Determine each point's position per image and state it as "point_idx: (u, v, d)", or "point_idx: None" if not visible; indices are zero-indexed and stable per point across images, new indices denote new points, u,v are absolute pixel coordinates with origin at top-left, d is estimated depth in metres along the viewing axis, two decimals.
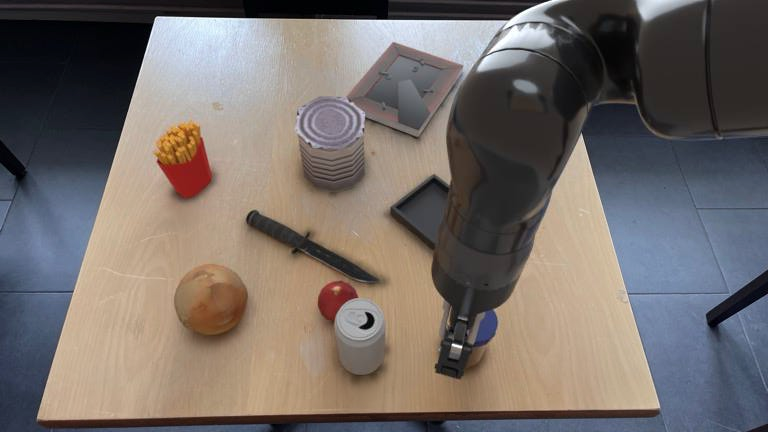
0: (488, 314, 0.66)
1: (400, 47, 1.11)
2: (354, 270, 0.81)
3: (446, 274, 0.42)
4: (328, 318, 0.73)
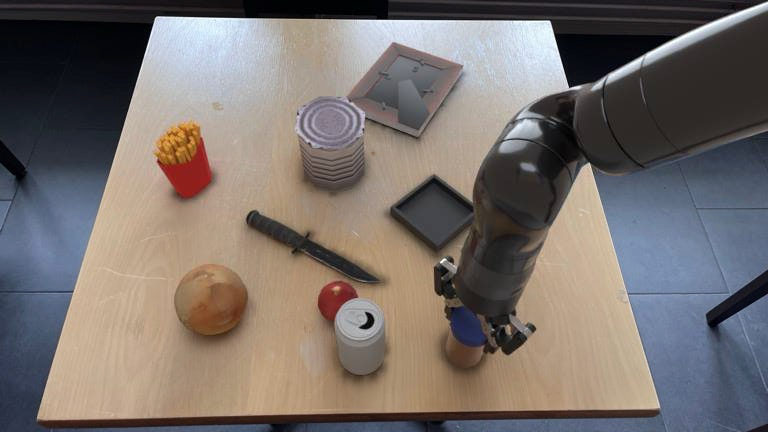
0: None
1: (400, 47, 1.11)
2: (354, 270, 0.81)
3: (502, 300, 0.54)
4: (328, 318, 0.73)
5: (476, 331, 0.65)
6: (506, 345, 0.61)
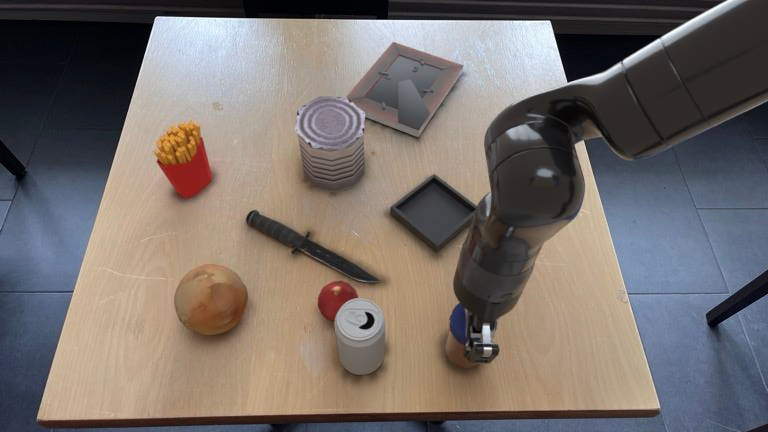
0: (459, 314, 0.66)
1: (400, 47, 1.11)
2: (354, 270, 0.81)
3: None
4: (328, 318, 0.73)
5: None
6: None
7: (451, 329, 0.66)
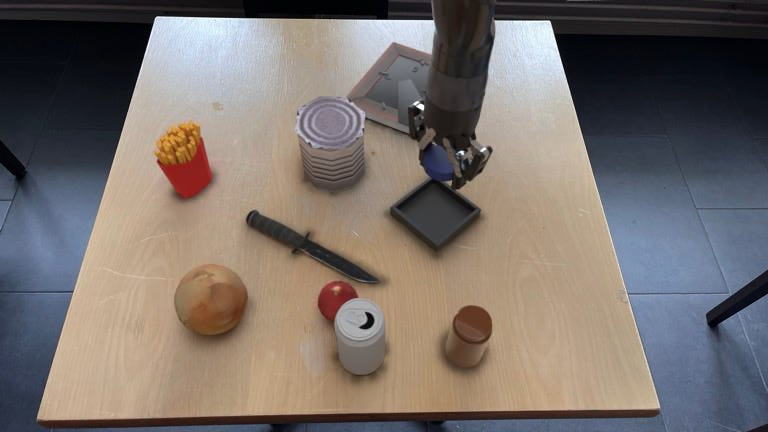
0: (432, 161, 0.76)
1: (400, 47, 1.11)
2: (354, 270, 0.81)
3: None
4: (328, 318, 0.73)
5: (443, 150, 0.78)
6: (425, 121, 0.77)
7: (435, 176, 0.76)
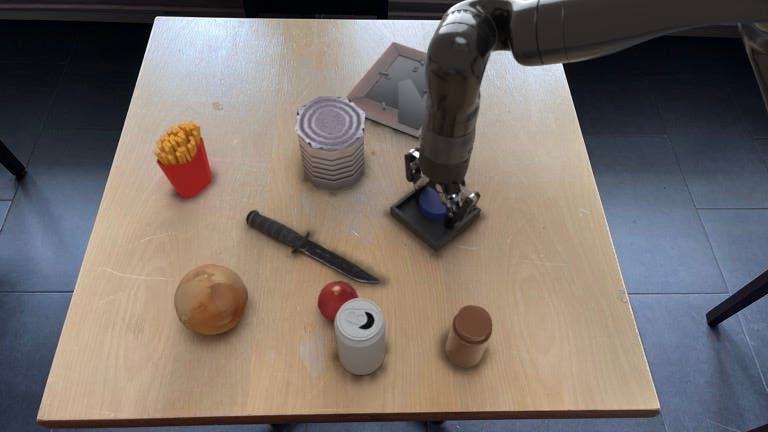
0: (426, 202, 0.84)
1: (400, 47, 1.11)
2: (354, 270, 0.81)
3: None
4: (328, 318, 0.73)
5: None
6: None
7: (429, 215, 0.84)
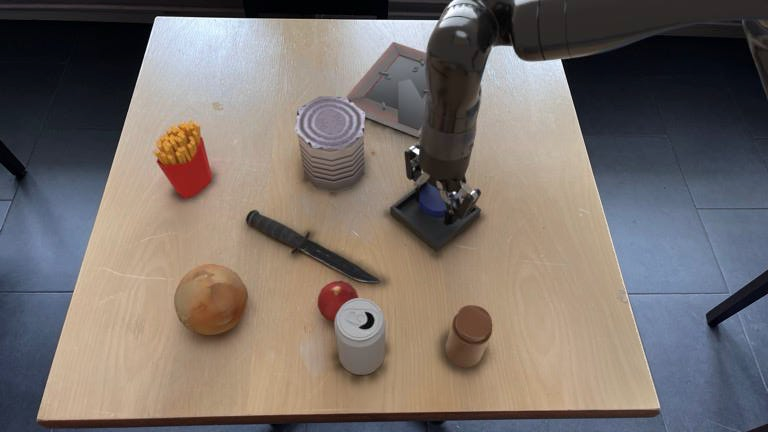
0: (426, 200, 0.83)
1: (400, 47, 1.11)
2: (354, 270, 0.81)
3: None
4: (328, 318, 0.73)
5: None
6: None
7: (430, 213, 0.83)
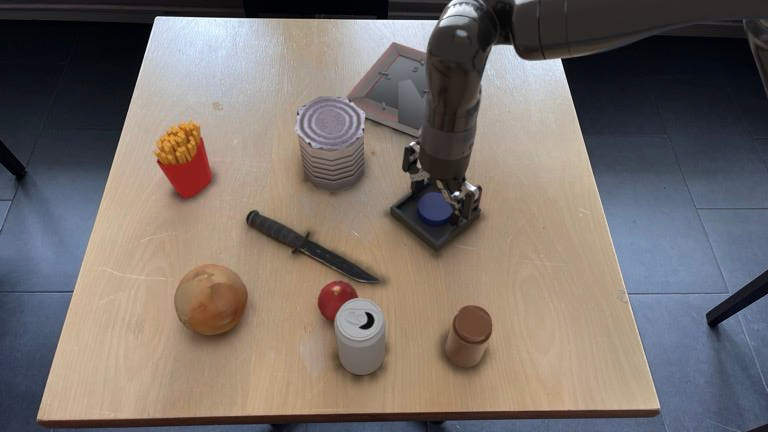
0: (424, 209, 0.86)
1: (400, 47, 1.11)
2: (354, 270, 0.81)
3: None
4: (328, 318, 0.73)
5: (434, 198, 0.87)
6: (417, 157, 0.84)
7: (428, 222, 0.85)
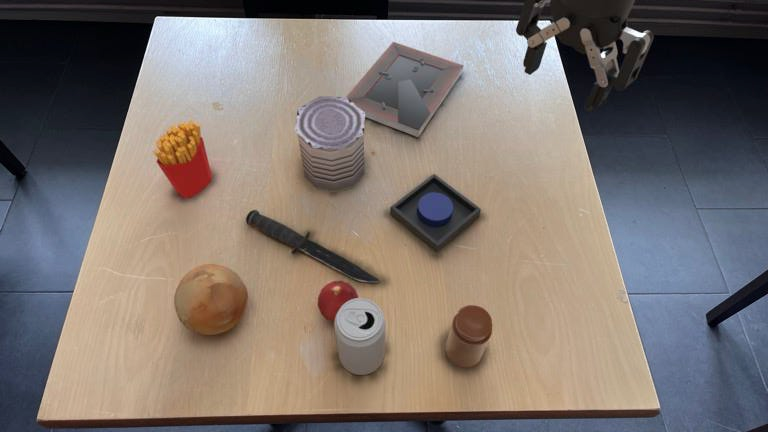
0: (424, 209, 0.86)
1: (400, 47, 1.11)
2: (354, 270, 0.81)
3: None
4: (328, 318, 0.73)
5: (434, 198, 0.87)
6: (539, 13, 0.60)
7: (428, 222, 0.85)
